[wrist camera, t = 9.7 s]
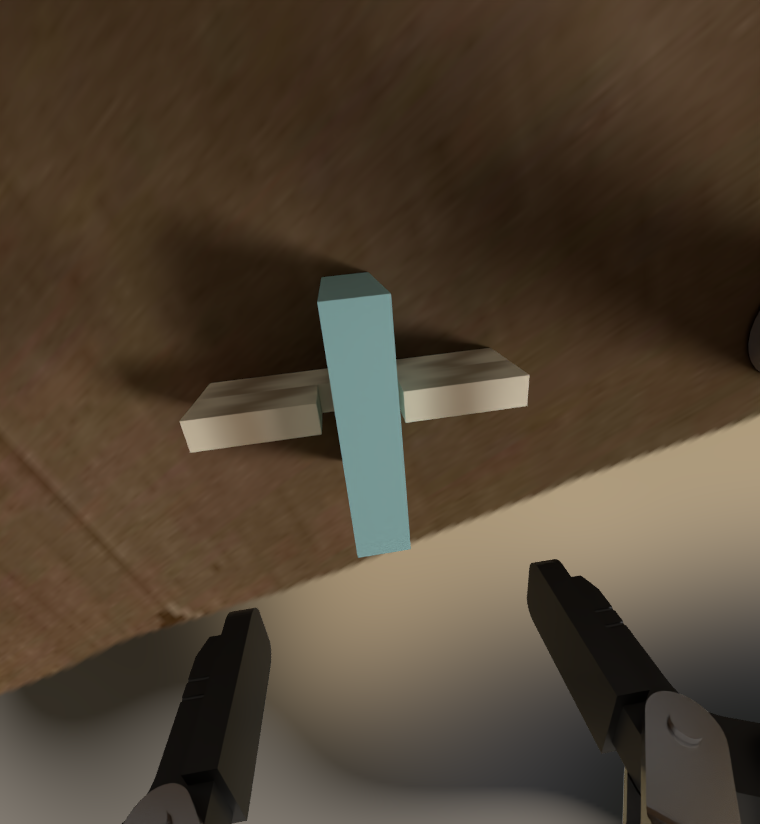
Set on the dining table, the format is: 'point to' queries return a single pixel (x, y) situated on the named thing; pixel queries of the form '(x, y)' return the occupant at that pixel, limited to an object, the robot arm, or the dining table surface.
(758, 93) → the dining table surface
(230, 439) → the maple base plate
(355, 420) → the teal cross plate
